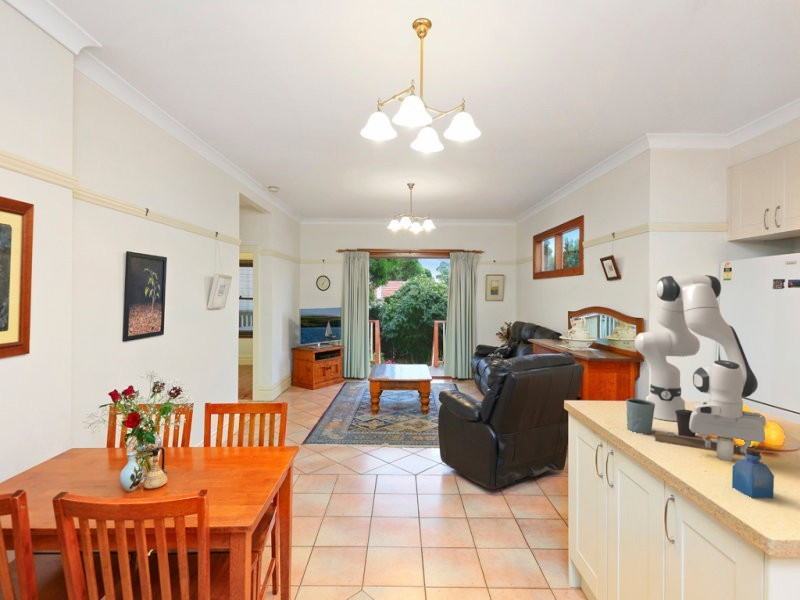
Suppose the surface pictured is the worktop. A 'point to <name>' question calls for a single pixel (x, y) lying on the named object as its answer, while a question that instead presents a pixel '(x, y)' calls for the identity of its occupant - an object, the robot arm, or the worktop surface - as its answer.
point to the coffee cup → (684, 423)
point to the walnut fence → (689, 441)
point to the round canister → (725, 448)
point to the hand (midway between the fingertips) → (725, 449)
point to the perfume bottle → (753, 476)
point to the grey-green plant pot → (640, 415)
